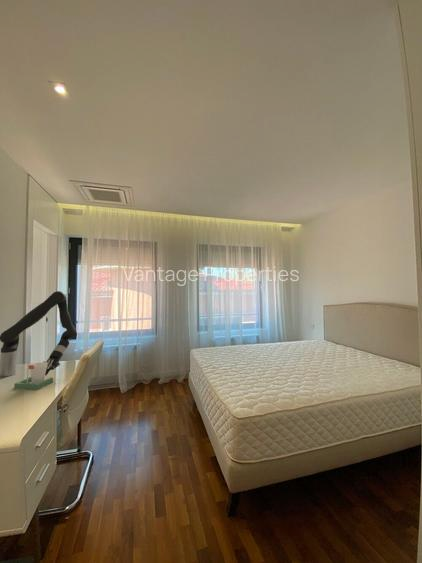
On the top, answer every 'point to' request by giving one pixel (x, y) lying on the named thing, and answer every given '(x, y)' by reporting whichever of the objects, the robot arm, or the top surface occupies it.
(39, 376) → the foam cup
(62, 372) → the top surface
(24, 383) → the green pocket
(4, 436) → the top surface
